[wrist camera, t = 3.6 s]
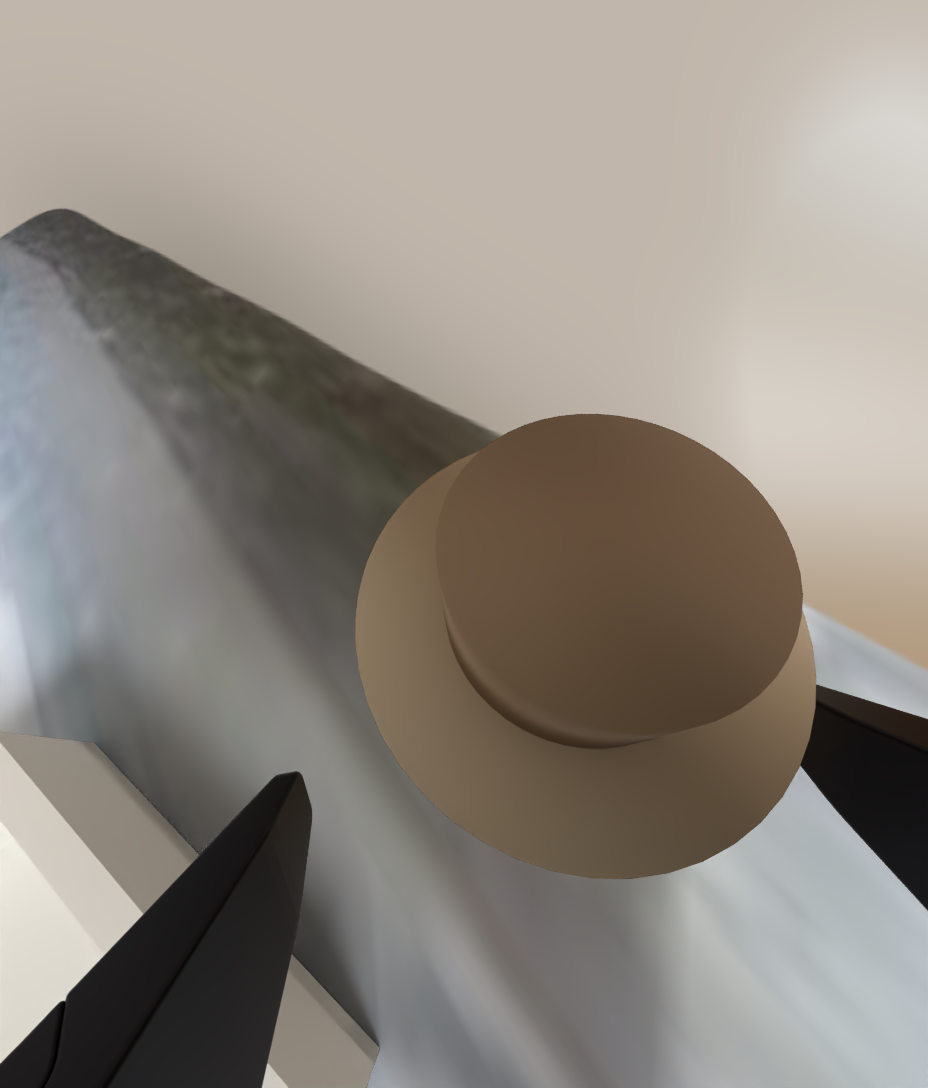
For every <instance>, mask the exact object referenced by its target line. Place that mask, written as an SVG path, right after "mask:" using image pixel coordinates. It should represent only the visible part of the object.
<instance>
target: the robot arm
mask: <svg viewBox="0 0 928 1088" xmlns="http://www.w3.org/2000/svg"><path fill="white" fill-rule="evenodd" d="M800 766H801V767H802V768H803V769H804V771H805V772H806V773H807V775H808V776H809V777H810V778H811V780H812V781H813V782H814V783H815V785H816V786H817V787H818V789H819V790H820V791H821V792H822V794H823V795H824V796H825V797H826V799H827V800H828V801H829V802H830V803H831V805H832V806H833V807H834V808H835V809H836V811H837V812H838V813H839V814H840V815H841V816H842V817H843V819H844V820H845V821H846V822H847V823H848V824H849V825H850V826H851V827H852V829H853V830H854V831H855V832H856V833H857V834H858V835H859V836H860V837H861V838H862V839H863V841H864V842H865V843H866V844H867V845H868V846H869V847H870V848H871V849H872V850H873V851H874V853H875V854H876V855H877V856H878V857H879V858H880V859H881V860H882V861H883V862H884V863H885V865H886V866H887V867H888V868H889V869H890V870H891V871H892V872H893V873H894V874H895V875H896V877H897V878H898V879H899V880H900V881H901V882H902V883H903V884H904V885H905V886H906V887H907V889H908V890H909V891H910V892H911V893H912V894H913V895H914V896H915V897H916V898H917V899H918V901H919V902H920V903H921V904H922V905H923V906H924V907H925V908H926V909H927V910H928V719H926V718H922V717H919V716H916V715H913V714H910V713H906V712H903V711H900V710H897V709H894V708H890V707H887V706H884V705H881V704H877V703H874V702H871V701H868V700H865V699H861V698H858V697H855V696H852V695H848V694H845V693H842V692H839V691H836V690H832V689H829V688H826V687H823V686H820V685H816V703H815V712H814V718H813V723H812V729H811V734H810V739H809V742H808V744H807V747H806V750H805V753H804V756H803V758H802V761H801V764H800ZM311 824H312V808H311V804H310V800H309V797H308V793H307V790H306V786H305V783H304V779H303V777H302V775H301V773H300V772H297V771H295V772H289V773H284V774H279V775H276V776H275V777H274V778H273V779H271V781H270V782H269V783H268V784H267V785H266V786H265V787H264V788H263V789H262V790H261V791H260V792H259V793H258V794H257V795H256V796H255V797H254V798H253V799H252V800H251V802H250V803H249V804H248V805H247V806H246V807H245V808H244V809H243V810H242V811H241V812H240V813H239V814H238V815H237V816H236V817H235V818H234V819H233V820H232V821H231V823H230V824H229V825H228V826H227V827H226V828H225V829H224V830H223V831H222V832H221V833H220V834H219V835H218V836H217V837H216V838H215V839H214V840H213V841H212V842H211V844H210V845H209V846H208V847H207V848H206V849H205V850H204V851H203V852H202V853H201V854H200V855H199V856H198V857H197V858H196V859H195V860H194V861H193V862H192V863H191V864H190V866H189V867H188V868H187V869H186V870H185V871H184V872H183V873H182V874H181V875H180V876H179V877H178V878H177V879H176V880H175V881H174V882H173V883H172V884H171V885H170V887H169V888H168V889H167V890H166V891H165V892H164V893H163V894H162V895H161V896H160V897H159V898H158V899H157V900H156V901H155V902H154V903H153V904H152V905H151V906H150V908H149V909H148V910H147V911H146V912H145V913H144V914H143V915H142V916H141V917H140V918H139V919H138V920H137V921H136V922H135V923H134V924H133V925H132V926H131V927H130V929H129V930H128V931H127V932H126V933H125V934H124V935H123V936H122V937H121V938H120V939H119V940H118V941H117V942H116V943H115V944H114V945H113V946H112V947H111V948H110V950H109V951H108V952H107V953H106V954H105V955H104V956H103V957H102V958H101V959H100V960H99V961H98V962H97V963H96V964H95V965H94V966H93V967H92V968H91V969H90V971H89V972H88V973H87V974H86V975H85V976H84V977H83V978H82V979H81V980H80V981H79V982H78V983H77V984H76V985H75V986H74V987H73V988H72V989H71V990H70V991H69V993H68V994H67V996H66V1000H65V1001H60V1002H59V1003H58V1004H57V1005H56V1006H55V1007H54V1008H53V1009H52V1010H51V1011H50V1012H49V1013H48V1014H47V1015H46V1016H45V1017H44V1019H43V1020H42V1021H41V1022H40V1023H39V1024H38V1025H37V1026H36V1027H35V1028H34V1029H33V1030H32V1031H31V1032H30V1033H29V1034H28V1035H27V1036H26V1037H25V1038H24V1039H23V1040H22V1042H21V1043H20V1044H19V1045H18V1046H17V1047H16V1048H15V1049H14V1050H13V1051H12V1052H11V1053H10V1054H9V1055H8V1056H7V1057H6V1058H5V1059H4V1060H3V1061H2V1062H1V1063H0V1088H262V1085H263V1081H264V1076H265V1072H266V1067H267V1063H268V1058H269V1054H270V1049H271V1045H272V1040H273V1036H274V1032H275V1027H276V1023H277V1018H278V1014H279V1009H280V1005H281V1000H282V996H283V991H284V987H285V982H286V978H287V973H288V969H289V964H290V960H291V955H292V951H293V947H294V942H295V937H296V932H297V927H298V922H299V916H300V910H301V903H302V895H303V887H304V879H305V871H306V864H307V856H308V848H309V840H310V832H311Z"/></svg>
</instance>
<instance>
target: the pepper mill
mask: <svg viewBox="0 0 928 1088" xmlns="http://www.w3.org/2000/svg"><path fill="white" fill-rule="evenodd" d="M802 600H803V593H802V585H801V575H800V570H799V567H798V563H797V559H796V555H795V552H794V549H793V547H792V544H791V542H790V540H789V537H788V535H787V532H786V531H785V529H784V527H783V525H782V524H781V522H780V520H779V518H778V517H777V515H776V513H775V512H774V510H773V509H772V508H771V506H770V505H769V504H768V502H767V501H766V500H765V498H764V497H763V496H762V494H761V493H760V492H759V491H758V490H757V489H756V488H755V487H754V486H753V484H752V483H751V482H750V481H749V480H748V479H747V478H746V477H745V476H743V475H742V474H741V473H740V472H739V471H738V470H737V469H736V468H734V467H733V466H732V465H731V464H730V463H728V462H727V461H726V460H724V459H723V458H721V457H720V456H719V455H717V454H716V453H715V452H713V451H711V450H710V449H708V448H706V447H705V446H703V445H701V444H700V443H698V442H696V441H694V440H692V439H690V438H688V437H686V436H684V435H682V434H680V433H677V432H675V431H672V430H670V429H667V428H664V427H662V426H659V425H656V424H652V423H649V422H645V421H642V420H638V419H633V418H626V417H621V416H614V415H602V414H575V415H566V416H558V417H553V418H548V419H543V420H540V421H536V422H533V423H530V424H527V425H524V426H521V427H519V428H517V429H515V430H512V431H510V432H508V433H506V434H504V435H503V436H501V437H499V438H498V439H496V440H494V441H493V442H491V443H490V444H489V445H487V446H486V447H485V448H484V449H482V450H481V451H478V452H476V453H473V454H471V455H469V456H467V457H464V458H462V459H460V460H458V461H456V462H454V463H452V464H451V465H449V466H447V467H446V468H444V469H442V470H441V471H439V472H437V473H436V474H435V475H433V476H432V477H431V478H429V479H428V480H427V481H426V482H424V483H423V484H422V485H420V486H419V487H418V488H417V489H416V490H415V491H414V492H413V493H412V494H411V495H410V496H409V497H408V498H407V499H406V500H405V501H404V502H403V503H402V504H401V506H400V507H399V508H398V509H397V511H396V512H395V513H394V514H393V516H392V517H391V518H390V519H389V521H388V522H387V524H386V526H385V527H384V529H383V531H382V532H381V534H380V536H379V537H378V539H377V541H376V543H375V545H374V547H373V550H372V552H371V554H370V557H369V559H368V561H367V564H366V567H365V570H364V574H363V578H362V581H361V585H360V588H359V595H358V602H357V609H356V651H357V659H358V666H359V673H360V677H361V681H362V684H363V688H364V692H365V695H366V699H367V702H368V705H369V708H370V710H371V712H372V715H373V717H374V719H375V722H376V724H377V726H378V729H379V731H380V733H381V735H382V737H383V738H384V740H385V742H386V743H387V745H388V747H389V748H390V750H391V752H392V753H393V755H394V757H395V758H396V760H397V762H398V763H399V765H400V766H401V767H402V769H403V770H404V771H405V772H406V774H407V775H408V776H409V777H410V779H411V780H412V781H413V782H414V783H415V785H416V786H417V787H418V788H419V790H420V791H421V792H422V793H423V794H424V795H425V796H426V797H427V798H428V799H429V800H430V801H431V802H432V803H433V804H434V805H436V806H437V807H438V808H439V809H440V810H441V811H442V812H443V813H444V814H445V815H446V816H447V817H448V818H449V819H451V820H452V821H454V822H455V823H456V824H458V825H459V826H461V827H462V828H464V829H465V830H466V831H468V832H469V833H471V834H472V835H473V836H475V837H476V838H478V839H479V840H480V841H482V842H484V843H486V844H488V845H490V846H492V847H494V848H496V849H498V850H500V851H502V852H504V853H506V854H508V855H510V856H511V857H513V858H515V859H518V860H521V861H524V862H527V863H530V864H533V865H536V866H539V867H542V868H545V869H548V870H551V871H554V872H559V873H565V874H571V875H576V876H582V877H588V878H606V879H633V878H640V877H646V876H653V875H660V874H666V873H670V872H673V871H676V870H679V869H682V868H685V867H688V866H691V865H694V864H697V863H700V862H703V861H705V860H707V859H708V858H710V857H712V856H714V855H716V854H718V853H719V852H721V851H723V850H725V849H727V848H728V847H730V846H732V845H734V844H735V843H736V842H738V841H739V840H740V839H741V838H743V837H744V836H745V835H746V834H747V833H749V832H750V831H751V830H752V829H754V828H755V827H756V826H757V825H758V824H760V823H761V822H762V821H763V819H764V818H765V817H766V816H767V815H768V813H769V812H770V811H771V810H772V809H773V808H774V806H775V805H776V804H777V803H778V802H779V800H780V799H781V798H782V797H783V795H784V793H785V792H786V790H787V788H788V786H789V785H790V783H791V781H792V779H793V778H794V776H795V774H796V773H797V771H798V769H799V767H800V764H801V761H802V758H803V756H804V753H805V750H806V747H807V744H808V742H809V739H810V734H811V729H812V723H813V718H814V712H815V703H816V671H815V662H814V654H813V646H812V642H811V638H810V634H809V631H808V627H807V623H806V619H805V616H804V613H803V611H802Z"/></svg>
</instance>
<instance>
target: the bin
mask: <svg viewBox="0 0 928 1088" xmlns="http://www.w3.org/2000/svg"><path fill="white" fill-rule="evenodd" d="M198 856H199V854H198V853H197V852H196V851H195V850H194V849H193V848H192V847H191V846H190V845H189V844H188V843H187V842H186V841H185V839H184V838H183V837H182V836H181V835H180V834H179V833H178V832H177V831H176V830H175V829H174V828H173V827H172V826H171V824H170V823H169V822H168V821H167V820H166V819H165V818H164V817H163V816H162V815H161V814H160V813H159V812H158V811H157V810H156V808H155V807H154V806H153V805H152V804H151V803H150V802H149V801H148V800H147V799H146V798H145V797H144V796H143V795H142V794H141V792H140V791H139V790H138V789H137V788H136V787H135V786H134V785H133V784H132V783H131V782H130V781H129V780H128V779H127V777H126V776H125V775H124V774H123V773H122V772H121V771H120V770H119V769H118V768H117V767H116V766H115V765H114V764H113V763H112V761H111V760H110V759H109V758H108V757H107V756H106V755H105V754H104V753H103V752H102V751H101V750H100V749H99V748H98V747H97V745H96V744H95V743H92V742H84V741H75V740H66V739H58V738H49V737H40V736H31V735H23V734H14V733H5V732H0V1063H1V1062H2V1061H3V1060H4V1059H5V1058H6V1057H7V1056H8V1055H9V1054H10V1053H11V1052H12V1051H13V1050H14V1049H15V1048H16V1047H17V1046H18V1045H19V1044H20V1043H21V1042H22V1040H23V1039H24V1038H25V1037H26V1036H27V1035H28V1034H29V1033H30V1032H31V1031H32V1030H33V1029H34V1028H35V1027H36V1026H37V1025H38V1024H39V1023H40V1022H41V1021H42V1020H43V1019H44V1017H45V1016H46V1015H47V1014H48V1013H49V1012H50V1011H51V1010H52V1009H53V1008H54V1007H55V1006H56V1005H57V1004H58V1003H59V1002H60V1001H65V1000H66V996H67V994H68V993H69V991H70V990H71V989H72V988H73V987H74V986H75V985H76V984H77V983H78V982H79V981H80V980H81V979H82V978H83V977H84V976H85V975H86V974H87V973H88V972H89V971H90V969H91V968H92V967H93V966H94V965H95V964H96V963H97V962H98V961H99V960H100V959H101V958H102V957H103V956H104V955H105V954H106V953H107V952H108V951H109V950H110V948H111V947H112V946H113V945H114V944H115V943H116V942H117V941H118V940H119V939H120V938H121V937H122V936H123V935H124V934H125V933H126V932H127V931H128V930H129V929H130V927H131V926H132V925H133V924H134V923H135V922H136V921H137V920H138V919H139V918H140V917H141V916H142V915H143V914H144V913H145V912H146V911H147V910H148V909H149V908H150V906H151V905H152V904H153V903H154V902H155V901H156V900H157V899H158V898H159V897H160V896H161V895H162V894H163V893H164V892H165V891H166V890H167V889H168V888H169V887H170V885H171V884H172V883H173V882H174V881H175V880H176V879H177V878H178V877H179V876H180V875H181V874H182V873H183V872H184V871H185V870H186V869H187V868H188V867H189V866H190V864H191V863H192V862H193V861H194V860H195V859H196V858H197V857H198ZM379 1050H380V1048H379V1047H378V1046H377V1045H376V1043H375V1042H374V1041H373V1040H372V1039H371V1038H370V1037H369V1036H368V1035H367V1034H366V1033H365V1032H364V1031H363V1030H362V1029H361V1027H360V1026H359V1025H358V1024H357V1023H356V1022H355V1021H354V1020H353V1019H352V1018H351V1017H350V1016H349V1015H348V1014H347V1012H346V1011H345V1010H344V1009H343V1008H342V1007H341V1006H340V1005H339V1004H338V1003H337V1002H336V1001H335V1000H334V999H333V998H332V996H331V995H330V994H329V993H328V992H327V991H326V990H325V989H324V988H323V987H322V986H321V985H320V984H319V983H318V982H317V980H316V979H315V978H314V977H313V976H312V975H311V974H310V973H309V972H308V971H307V970H306V969H305V968H304V967H303V965H302V964H301V963H300V962H299V961H298V960H297V959H296V958H295V957H294V956H293V955H291V960H290V964H289V969H288V973H287V978H286V982H285V987H284V991H283V996H282V1000H281V1005H280V1009H279V1014H278V1018H277V1023H276V1027H275V1032H274V1036H273V1040H272V1045H271V1049H270V1054H269V1058H268V1063H267V1067H266V1072H265V1076H264V1081H263V1085H262V1088H367V1085H368V1082H369V1079H370V1076H371V1073H372V1070H373V1067H374V1065H375V1062H376V1059H377V1056H378V1053H379Z"/></svg>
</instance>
